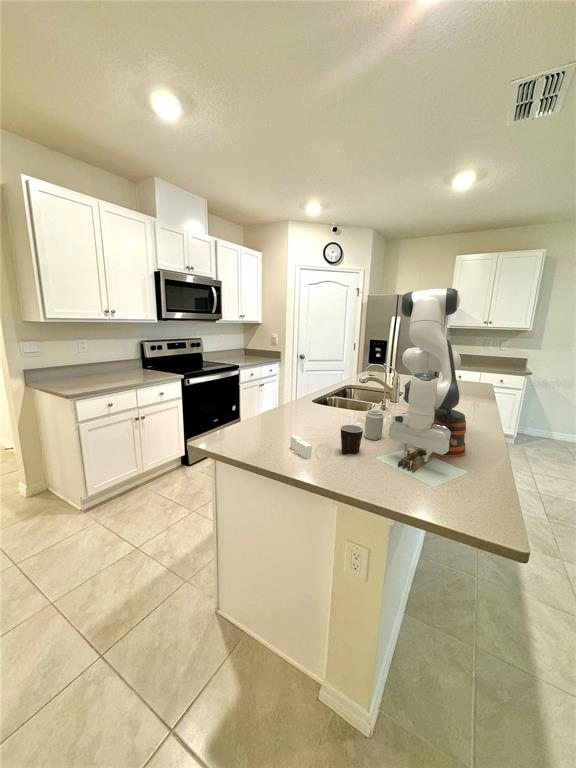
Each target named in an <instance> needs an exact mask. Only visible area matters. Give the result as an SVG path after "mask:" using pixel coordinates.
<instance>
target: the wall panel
mask: <svg viewBox="0 0 576 768" xmlns="http://www.w3.org/2000/svg"><path fill="white" fill-rule="evenodd" d="M407 449H408V450H410V452H409V453H410V454H411V453H412V452H414V451H416V450H417V449H414V448H411V447H407ZM403 453H404V450H403V449H401V450H398V451H395V452H390V453H388V454H382V455H379V456H375V459H376V460H378V461H380V462H383V463H384V464H387V465H388V466H391V468H394V469H396V470H398V471H400V472H402V473H404V474H406V475H408V476H410V477H412V478H414V479H416V480H418V481H420V482H421V483H424V484H425V485H427V486H430V487H432V488H436V487H438V486H440V485H441V484H444V483H447V482H449V481H452V480H454V479H457V478H458V477H462V476H464V475H467V474H469V473H470V472H469V471H467V470H464V469H463V468H462V469H461V468H459V467H457V466H455V465H453V464H450V463H448V462H446V461H445V462H444V461H443V460H440V459H438V458H436V457H433V456H432V460H430V461H429V462H427V463H426V464H425V465H423V466H422V467H420V468H419V469H417V470H416V471H415V472H414V473H412V470H411V471H407V468H404V469H402V467H403V466H400V467H399V468H398V462H399V461H400V460H401V459H402V458H404V457H406V455H404V454H403Z"/></svg>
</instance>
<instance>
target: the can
mask: <svg viewBox="0 0 576 768" xmlns="http://www.w3.org/2000/svg"><path fill="white" fill-rule="evenodd" d="M384 417H385V416H384V414H383V412H382V411H381V410H376V409H375V410H374V409H370V410H367V413H366V414H365V422H364V423H365V424H364V433H363V434H364V435H363V436H365V438H366V439H367V440H372V441H379V440H380V439H382V438H383V427H384V426H383V425H384Z"/></svg>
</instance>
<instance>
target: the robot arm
mask: <svg viewBox="0 0 576 768" xmlns="http://www.w3.org/2000/svg"><path fill="white" fill-rule="evenodd" d="M460 304H461V298H460V294H459V292H458V290H457V289H456V288H451V287H447V288H429V289H423V290H416V291H412V290H411V291H409V292H405V293H404V294H403V296H402V298H401V300H400V304H399V305H400V306H399V307H400V312H401V314H402V315H403V316H404V317H405V318H410V320H409V328H408V329H409V331H408V332H409V333H408V334H409V339H410V342H411V343H412V344H413V345H414V346H415V347H409V348H407V349H406V350H404V352H403V353H402V357H401V358H402V359H401V360H402V364H403V366H404V367H406V369H408V371H409V373H411V375H412V378H411V380H409V381H408V382H406V383H405V384H404V394H403V398H402V399H403V401H404V402H405V403H406V404H407V405H408V406H407V409H406V412H400V413H397V414H394V415H392V418H391V419H392V422H391V423H390V425H389V429H388V437H389V439H390V440H392V441H397V442H399V443H401V445H400V446H401V448H402V450H404V453H403V454H404V455H406V456H407V455H409V454H410V453H409V452H410V450H408V445H409V446H412V447H416V448H417V449H421V450H424V451H426V453H427V454H426V455H423V456H422V461H424V462H427V461H428V457H429V456H430V455H431V453H432V452H435V453H438V454H441V455H443V454H445V453H447V452H448V451H449V439H450V435H451V432H450V430H449V429H448V428H447V427H445V426H440V425H437V424H433V423H434V415H435V411H434V410H435V409H443V410H450V409H454V408H456V407H457V406H459V403H460V397H461V395H460V390H459V389H460V388H459V386H458V381H457V373H456V371H457V370H458V369H459V367H460V365H461V362H462V360H461V356H460V353H459V352H458V351H456V350H455V349H453V348H452V343H451V341H450V339H448V338H446V336H445V316H451V315H453V314H455V313H456V312H457V310H458V309H459V307H460ZM429 372H437V373H441V376H442V381H438V378H437V377H436V375H435V374H431V373H429ZM446 429H447V430H446Z"/></svg>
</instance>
